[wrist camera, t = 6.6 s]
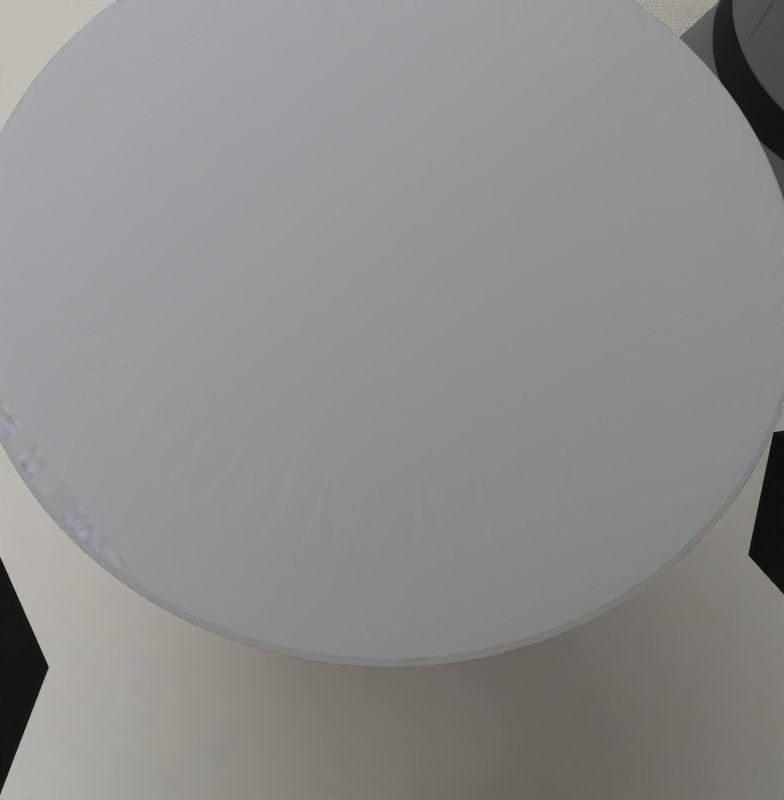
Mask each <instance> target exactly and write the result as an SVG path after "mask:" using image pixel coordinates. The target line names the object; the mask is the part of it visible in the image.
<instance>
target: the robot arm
mask: <svg viewBox="0 0 784 800" xmlns="http://www.w3.org/2000/svg"><path fill="white" fill-rule="evenodd" d="M679 38H680V39H681V40H682V41H683V42H684V43H685V44H686V45H687V46H688V47H689V48H690V49H691V50H692V51H693V52H694V53H695V54H696V55H697V56H698V57H699V58H700V59H701V60H702V61H703V62H704V63H705V64H706V65H707V67H708V68H709V69H710V70H711V71H712V72H713V74H714V75H715V76H716V77H717V78H718V80H719V81H720V82H721V83H722V85H723V86H724V87H725V89H726V90H727V91H728V93H729V94H730V95H731V97H732V98H733V99H734V101H735V102H736V104H737V105H738V107H739V108H740V110H741V111H742V113H743V114H744V116H745V117H746V119H747V121H748V122H749V124H750V126H751V127H752V129H753V131H754V133H755V134H756V136H757V138H758V140H759V142H760V144H761V146H762V148H763V150H764V152H765V154H766V156H767V158H768V160H769V163H770V165H771V167H772V170H773V172H774V175H775V177H776V180H777V182H778V185H779V188H780V191H781V194H782V197H783V200H784V0H719V2H718V3H717V4H716V5H715V6H714V7H712V8H711V9H710V10H709V11H708V12H707V13H706V14H705V15H704V16H703V17H701V18H700V19H699V20H698V21H697V22H696V23H695V24H694V25H693V26H692V27H690V28H689V29H688V30H687V31H686V32H685V33H684V34H683V35H682V36H681V37H679ZM748 555H749V556H750V558H751V559H752V560H753V561H754V562H755V563H756V564H757V565H758V566H759V567H760V569H761V570H762V571H763V572H764V573H765V574H766V575H767V576H768V577H769V579H770V580H771V581H772V582H773V583H774V584H775V585H776V586H777V587H778V588H779V590H780V591H781V592H782V593H783V594H784V431H778V432H773V437H772V442H771V447H770V452H769V457H768V461H767V466H766V471H765V476H764V481H763V486H762V491H761V496H760V500H759V505H758V510H757V515H756V520H755V525H754V530H753V535H752V540H751V544H750V549H749V554H748ZM48 668H49V666H48V664H47V662H46V660H45V657H44V655H43V653H42V651H41V648H40V646H39V644H38V641H37V639H36V637H35V635H34V632H33V630H32V628H31V626H30V623H29V621H28V619H27V617H26V614H25V612H24V610H23V607H22V605H21V603H20V601H19V598H18V596H17V594H16V592H15V589H14V587H13V585H12V583H11V580H10V578H9V576H8V573H7V571H6V569H5V567H4V564H3V562H2V560H1V558H0V794H1V791H2V788H3V786H4V783H5V781H6V778H7V775H8V773H9V770H10V767H11V765H12V762H13V760H14V757H15V754H16V752H17V749H18V747H19V744H20V741H21V739H22V736H23V733H24V731H25V728H26V726H27V723H28V720H29V718H30V715H31V712H32V710H33V707H34V705H35V702H36V699H37V697H38V694H39V692H40V689H41V686H42V684H43V681H44V678H45V676H46V673H47V671H48Z"/></svg>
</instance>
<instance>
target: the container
mask: <svg viewBox="0 0 784 800" xmlns="http://www.w3.org/2000/svg"><path fill="white" fill-rule="evenodd" d="M783 402H784V200H783V197H782V194H781V191H780V188H779V185H778V182H777V180H776V177H775V175H774V172H773V170H772V167H771V165H770V163H769V160H768V158H767V156H766V154H765V152H764V150H763V148H762V146H761V144H760V142H759V140H758V138H757V136H756V134H755V133H754V131H753V129H752V127H751V126H750V124H749V122H748V121H747V119H746V117H745V116H744V114H743V113H742V111H741V110H740V108H739V107H738V105H737V104H736V102H735V101H734V99H733V98H732V97H731V95H730V94H729V93H728V91H727V90H726V89H725V87H724V86H723V85H722V83H721V82H720V81H719V80H718V78H717V77H716V76H715V75H714V74H713V72H712V71H711V70H710V69H709V68H708V67H707V65H706V64H705V63H704V62H703V61H702V60H701V59H700V58H699V57H698V56H697V55H696V54H695V53H694V52H693V51H692V50H691V49H690V48H689V47H688V46H687V45H686V44H685V43H684V42H683V41H682V40H681V39H680V38H679V37H678V36H677V35H676V34H675V33H673V32H672V31H671V30H670V29H669V28H668V27H667V26H665V25H664V24H663V23H662V22H661V21H659V20H658V19H657V18H656V17H654V16H653V15H652V14H650V13H649V12H648V11H647V10H645V9H644V8H643V7H641V6H640V5H638V4H637V3H636V2H634V1H633V0H117V1H116V2H114V3H113V4H111V5H110V6H109V7H107V8H106V9H105V10H103V11H102V12H101V13H100V14H98V15H97V16H96V17H95V18H94V19H92V20H91V21H90V22H89V23H88V24H86V25H85V26H84V27H83V28H82V29H81V30H80V31H79V32H78V33H76V34H75V35H74V36H73V37H72V38H71V39H70V40H69V41H68V42H67V43H66V44H65V45H64V46H63V47H62V48H61V49H60V50H59V51H58V52H57V54H56V55H55V56H54V57H53V58H52V59H51V60H50V61H49V62H48V64H47V65H46V66H45V67H44V68H43V70H42V71H41V72H40V73H39V75H38V76H37V77H36V78H35V80H34V81H33V82H32V84H31V85H30V86H29V88H28V89H27V91H26V92H25V93H24V95H23V96H22V98H21V99H20V101H19V102H18V104H17V105H16V107H15V109H14V110H13V112H12V113H11V115H10V117H9V119H8V120H7V122H6V124H5V126H4V127H3V129H2V131H1V133H0V442H1V444H2V446H3V448H4V450H5V451H6V453H7V455H8V457H9V458H10V460H11V462H12V464H13V465H14V467H15V469H16V470H17V472H18V473H19V475H20V476H21V478H22V480H23V481H24V483H25V484H26V485H27V487H28V488H29V490H30V491H31V493H32V494H33V495H34V497H35V498H36V499H37V500H38V502H39V503H40V504H41V506H42V507H43V508H44V509H45V511H46V512H47V513H48V514H49V515H50V516H51V518H52V519H53V520H54V521H55V522H56V523H57V525H58V526H59V527H60V528H61V529H62V530H63V531H64V532H65V533H66V534H67V535H68V536H69V537H70V538H71V539H72V540H73V541H74V542H75V543H76V544H77V545H78V546H79V547H80V548H81V549H82V550H83V551H84V552H85V553H86V554H88V555H89V556H90V557H91V558H92V559H93V560H94V561H96V562H97V563H98V564H99V565H100V566H102V567H103V568H104V569H105V570H107V571H108V572H109V573H110V574H112V575H113V576H114V577H116V578H117V579H118V580H119V581H121V582H122V583H124V584H125V585H127V586H128V587H130V588H131V589H133V590H134V591H135V592H137V593H138V594H140V595H141V596H143V597H145V598H146V599H148V600H150V601H151V602H153V603H154V604H156V605H158V606H160V607H161V608H163V609H165V610H167V611H169V612H170V613H172V614H174V615H176V616H178V617H180V618H182V619H184V620H186V621H188V622H190V623H192V624H194V625H197V626H199V627H201V628H203V629H206V630H208V631H210V632H213V633H215V634H218V635H220V636H223V637H226V638H228V639H231V640H234V641H237V642H240V643H242V644H246V645H249V646H252V647H255V648H259V649H262V650H266V651H270V652H273V653H277V654H282V655H286V656H290V657H295V658H300V659H306V660H311V661H317V662H324V663H332V664H341V665H351V666H367V667H411V666H427V665H438V664H447V663H454V662H461V661H467V660H473V659H478V658H483V657H488V656H492V655H496V654H500V653H504V652H508V651H512V650H515V649H519V648H522V647H526V646H529V645H532V644H535V643H538V642H541V641H544V640H546V639H549V638H552V637H554V636H557V635H559V634H562V633H564V632H567V631H569V630H571V629H573V628H576V627H578V626H580V625H582V624H584V623H586V622H588V621H591V620H592V619H594V618H596V617H598V616H600V615H602V614H604V613H606V612H607V611H609V610H611V609H613V608H615V607H616V606H618V605H620V604H621V603H623V602H625V601H626V600H628V599H629V598H631V597H632V596H634V595H635V594H637V593H638V592H640V591H641V590H643V589H644V588H645V587H647V586H648V585H650V584H651V583H652V582H654V581H655V580H656V579H658V578H659V577H660V576H661V575H663V574H664V573H665V572H667V571H668V570H669V569H670V568H671V567H673V566H674V565H675V564H676V563H677V562H678V561H679V560H680V559H681V558H683V557H684V556H685V555H686V554H687V553H688V552H689V551H690V550H691V549H692V548H693V547H694V546H695V545H696V544H697V543H698V542H699V541H700V540H701V539H702V538H703V537H704V536H705V535H706V534H707V533H708V532H709V531H710V529H711V528H712V527H713V526H714V525H715V524H716V523H717V521H718V520H719V519H720V518H721V516H722V515H723V514H724V513H725V511H726V510H727V509H728V507H729V506H730V505H731V504H732V502H733V501H734V499H735V498H736V497H737V495H738V494H739V492H740V491H741V489H742V488H743V487H744V485H745V483H746V482H747V480H748V478H749V477H750V475H751V474H752V472H753V470H754V468H755V466H756V465H757V463H758V461H759V459H760V457H761V455H762V453H763V451H764V449H765V447H766V445H767V443H768V441H769V439H770V437H771V434H772V432H773V429H774V427H775V424H776V422H777V419H778V417H779V414H780V411H781V408H782V405H783Z"/></svg>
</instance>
